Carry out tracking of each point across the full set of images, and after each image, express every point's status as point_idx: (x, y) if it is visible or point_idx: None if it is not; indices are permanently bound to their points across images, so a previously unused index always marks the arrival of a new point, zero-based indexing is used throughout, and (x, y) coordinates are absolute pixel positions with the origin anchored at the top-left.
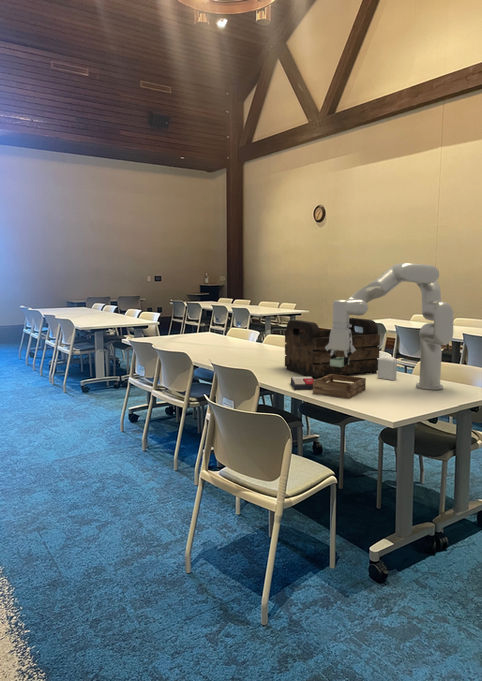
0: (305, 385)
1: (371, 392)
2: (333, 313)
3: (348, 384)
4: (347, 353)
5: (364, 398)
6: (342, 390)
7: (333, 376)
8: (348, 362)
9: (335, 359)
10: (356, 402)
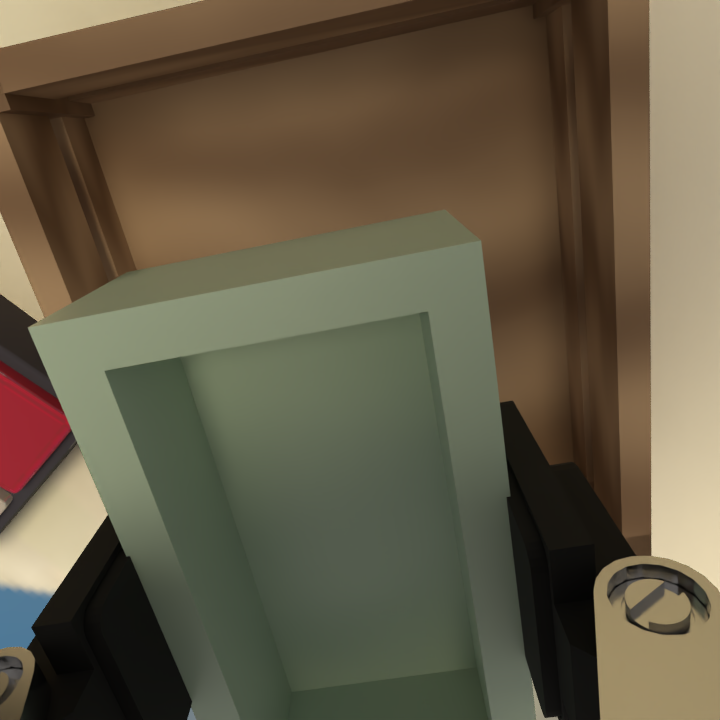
0: (29, 498)
1: (683, 28)
2: None
3: (325, 46)
4: (660, 718)
5: (711, 361)
6: None
7: (38, 92)
8: (576, 470)
9: (219, 624)
10: (697, 527)
